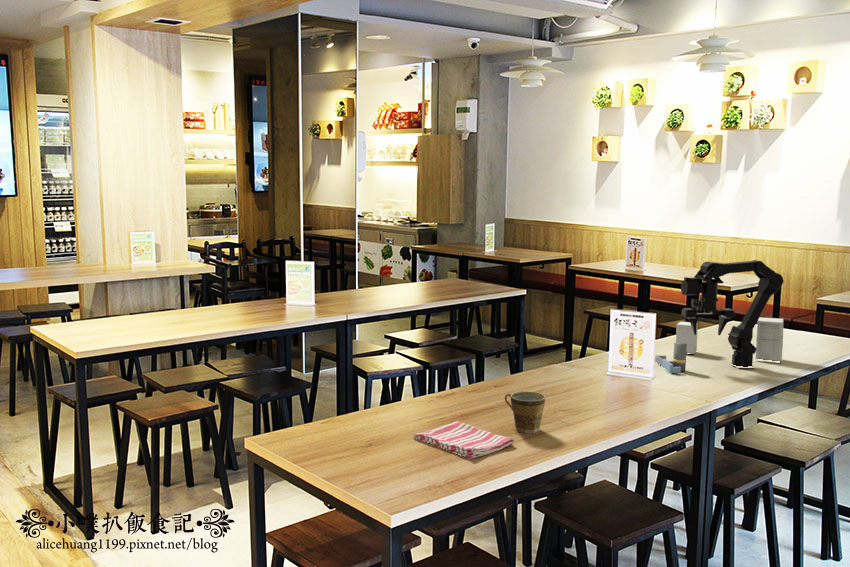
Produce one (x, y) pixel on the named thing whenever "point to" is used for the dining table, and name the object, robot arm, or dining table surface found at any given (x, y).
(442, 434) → the dish towel
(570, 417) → the dining table surface
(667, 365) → the duct rail
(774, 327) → the supplement box
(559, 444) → the dining table surface
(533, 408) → the ceramic cup
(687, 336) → the supplement box
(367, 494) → the dining table surface
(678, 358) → the gray banded cylinder
